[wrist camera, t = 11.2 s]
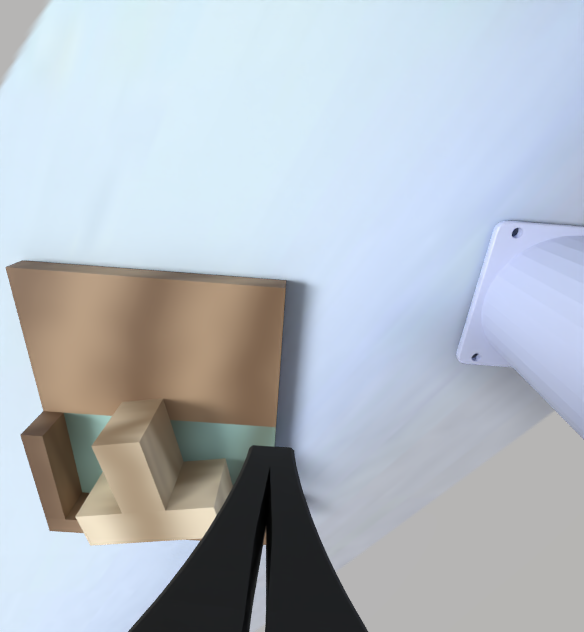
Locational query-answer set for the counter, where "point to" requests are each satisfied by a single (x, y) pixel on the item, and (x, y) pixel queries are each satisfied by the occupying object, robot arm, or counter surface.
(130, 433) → the t block
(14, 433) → the counter surface
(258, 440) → the board
